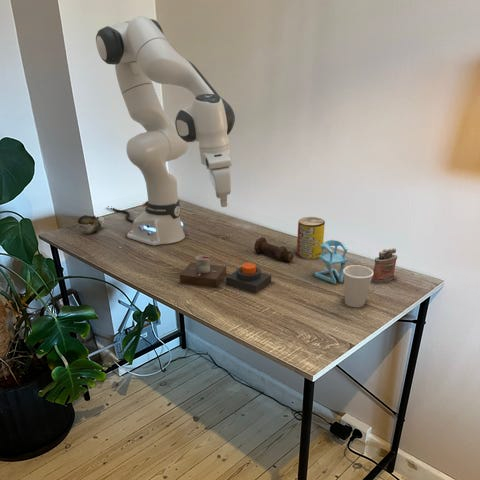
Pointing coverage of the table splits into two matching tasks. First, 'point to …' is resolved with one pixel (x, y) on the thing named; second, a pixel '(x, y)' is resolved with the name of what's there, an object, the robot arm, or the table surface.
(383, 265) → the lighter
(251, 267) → the button
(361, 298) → the dixie cup
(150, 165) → the robot arm
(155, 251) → the table surface
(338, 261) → the chair
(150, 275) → the table surface
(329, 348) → the table surface
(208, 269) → the knob
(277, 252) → the bolt
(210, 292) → the table surface
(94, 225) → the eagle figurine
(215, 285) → the dial base
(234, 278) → the button box
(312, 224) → the beverage can
